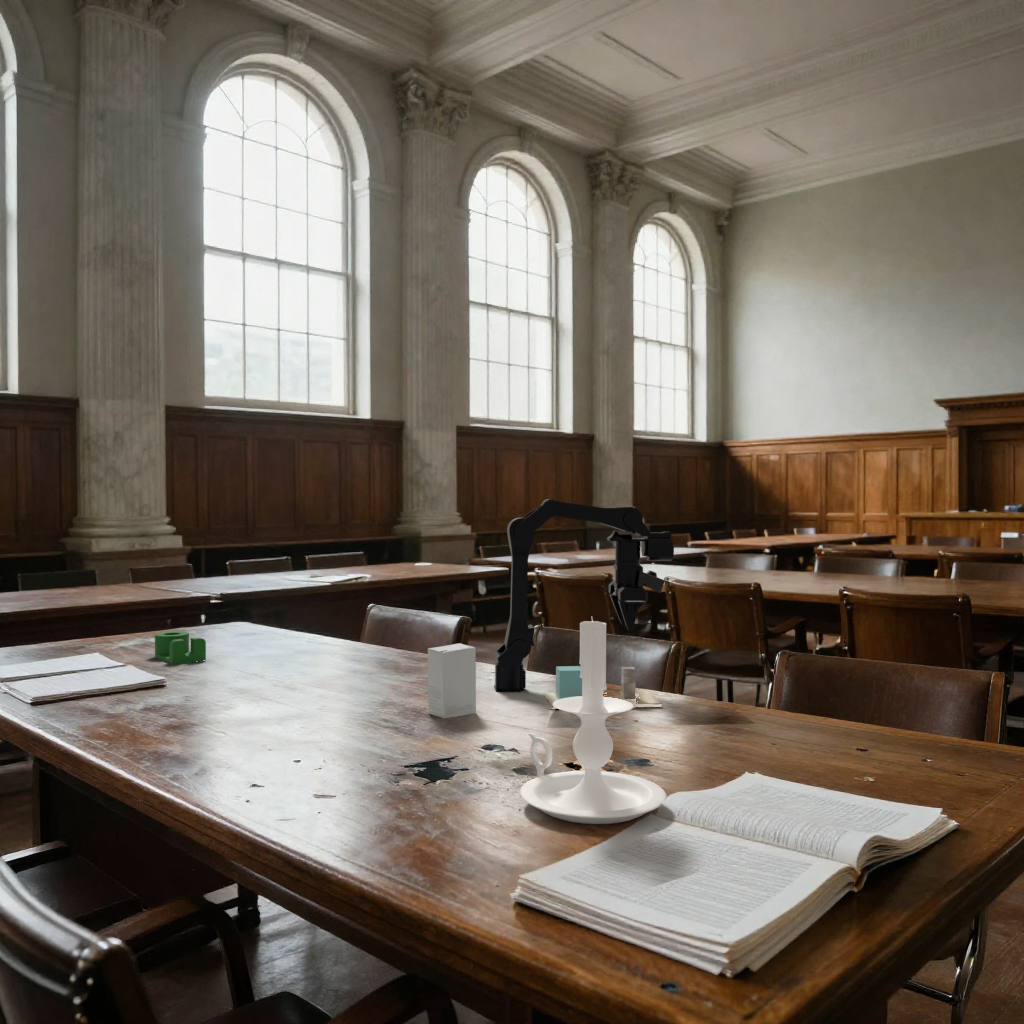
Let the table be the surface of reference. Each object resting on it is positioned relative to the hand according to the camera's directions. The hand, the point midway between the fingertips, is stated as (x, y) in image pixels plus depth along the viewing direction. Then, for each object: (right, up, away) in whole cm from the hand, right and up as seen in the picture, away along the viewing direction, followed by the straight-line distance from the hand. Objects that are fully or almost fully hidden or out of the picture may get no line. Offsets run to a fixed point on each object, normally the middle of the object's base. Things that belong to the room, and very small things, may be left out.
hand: (626, 627), depth 215 cm
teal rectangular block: (-14, -14, -14) cm, 24 cm away
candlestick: (-17, -16, -82) cm, 86 cm away
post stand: (-7, -15, -13) cm, 21 cm away
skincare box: (-39, -15, -29) cm, 51 cm away
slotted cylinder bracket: (-119, -14, +41) cm, 127 cm away
